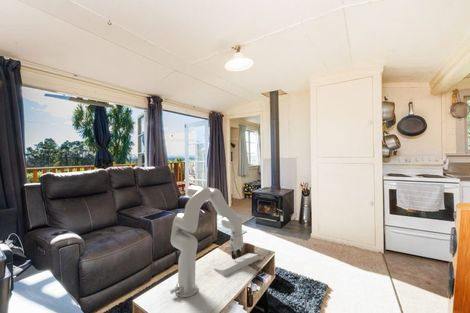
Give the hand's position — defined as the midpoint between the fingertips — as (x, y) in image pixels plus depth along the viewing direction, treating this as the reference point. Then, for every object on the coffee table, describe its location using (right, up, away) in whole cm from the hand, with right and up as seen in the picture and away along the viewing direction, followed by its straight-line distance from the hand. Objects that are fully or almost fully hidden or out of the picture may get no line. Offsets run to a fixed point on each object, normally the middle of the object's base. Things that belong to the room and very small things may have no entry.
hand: (236, 257), depth 153 cm
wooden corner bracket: (+6, -4, +12) cm, 14 cm away
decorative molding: (+1, -5, -3) cm, 6 cm away
